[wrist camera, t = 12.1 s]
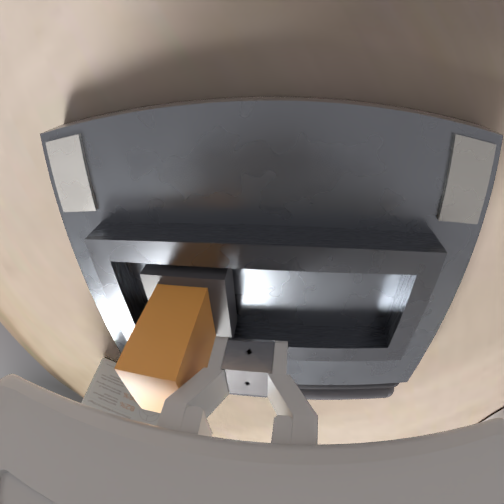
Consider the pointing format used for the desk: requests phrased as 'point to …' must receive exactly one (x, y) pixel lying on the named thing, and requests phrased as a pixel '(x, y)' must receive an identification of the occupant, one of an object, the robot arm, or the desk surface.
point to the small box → (115, 396)
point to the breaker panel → (283, 219)
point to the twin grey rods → (342, 391)
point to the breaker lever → (176, 329)
